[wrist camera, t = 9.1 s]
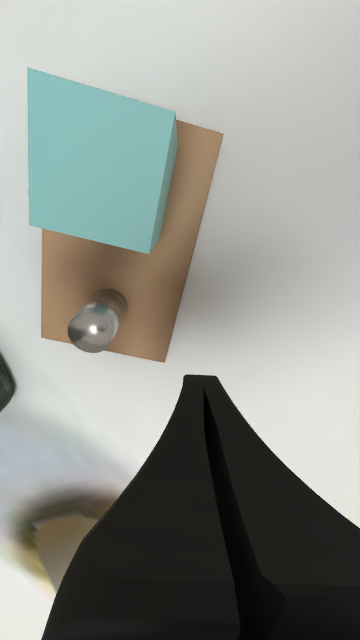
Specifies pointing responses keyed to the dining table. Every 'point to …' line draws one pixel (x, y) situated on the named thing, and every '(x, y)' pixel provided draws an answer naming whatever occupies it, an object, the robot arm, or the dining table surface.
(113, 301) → the round post
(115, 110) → the teal foam brick
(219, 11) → the dining table surface
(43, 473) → the dining table surface
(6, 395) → the coffee jar
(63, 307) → the stand plate
